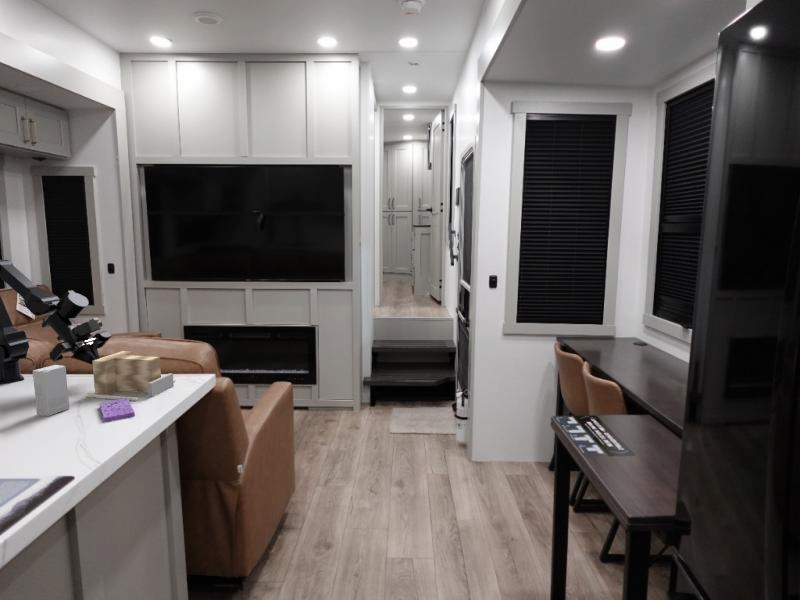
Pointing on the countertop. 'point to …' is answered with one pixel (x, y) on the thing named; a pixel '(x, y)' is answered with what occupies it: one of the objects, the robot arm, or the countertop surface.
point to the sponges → (116, 409)
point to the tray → (153, 388)
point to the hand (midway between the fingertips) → (100, 365)
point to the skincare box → (51, 390)
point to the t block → (125, 372)
